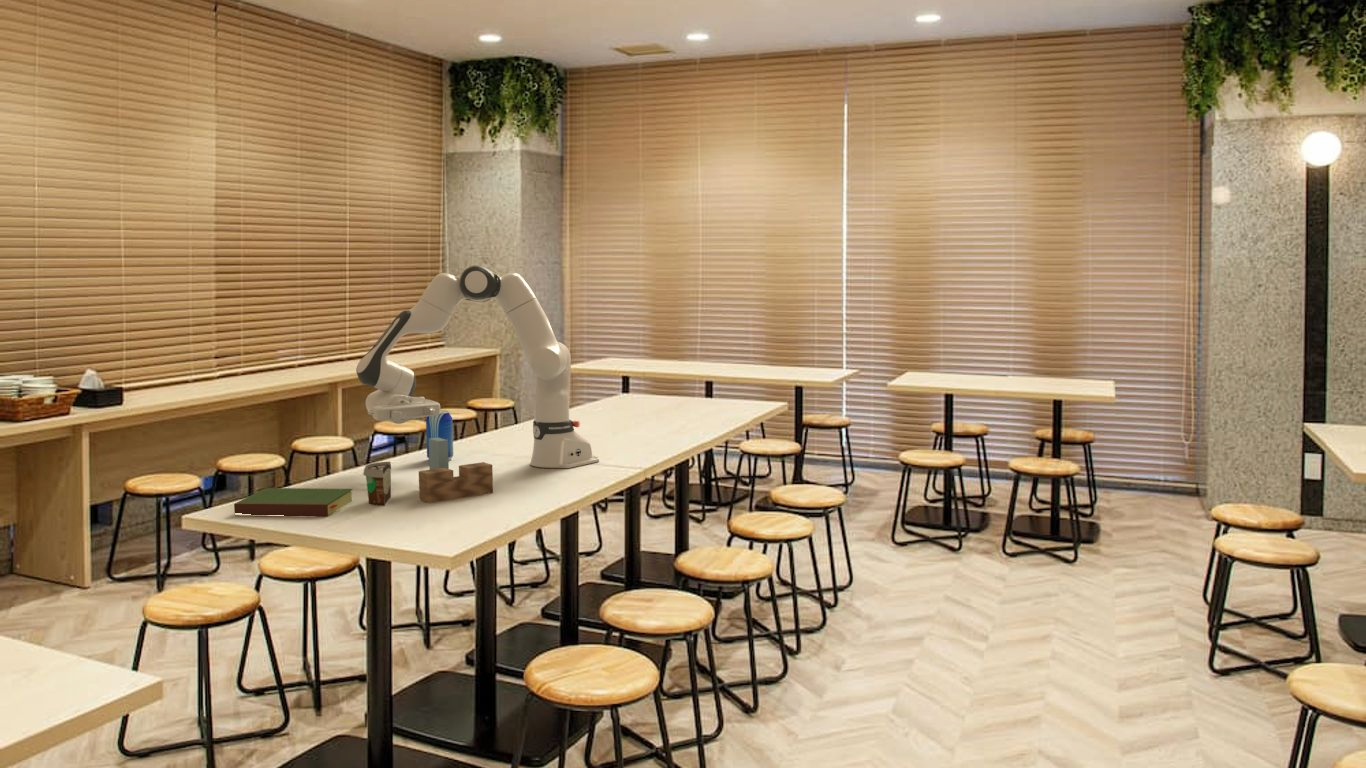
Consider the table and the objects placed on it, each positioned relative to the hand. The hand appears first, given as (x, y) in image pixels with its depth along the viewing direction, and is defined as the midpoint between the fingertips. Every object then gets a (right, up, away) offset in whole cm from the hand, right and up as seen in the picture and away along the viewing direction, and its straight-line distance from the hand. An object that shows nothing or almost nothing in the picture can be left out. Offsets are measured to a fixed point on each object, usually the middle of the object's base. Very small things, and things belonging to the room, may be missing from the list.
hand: (418, 414), depth 318 cm
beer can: (-1, -16, +35) cm, 38 cm away
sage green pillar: (+8, -21, -7) cm, 23 cm away
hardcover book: (-24, -25, -32) cm, 47 cm away
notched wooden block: (+15, -22, -19) cm, 33 cm away
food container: (-5, -23, -25) cm, 35 cm away
